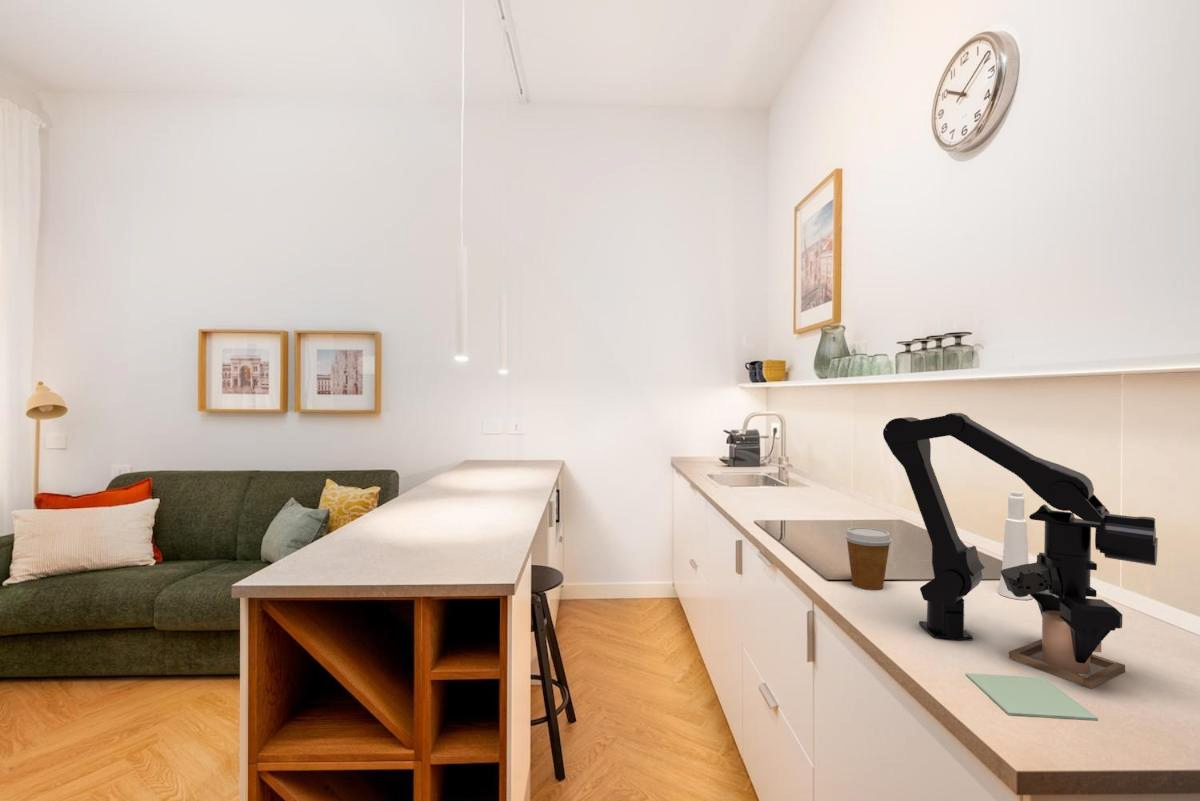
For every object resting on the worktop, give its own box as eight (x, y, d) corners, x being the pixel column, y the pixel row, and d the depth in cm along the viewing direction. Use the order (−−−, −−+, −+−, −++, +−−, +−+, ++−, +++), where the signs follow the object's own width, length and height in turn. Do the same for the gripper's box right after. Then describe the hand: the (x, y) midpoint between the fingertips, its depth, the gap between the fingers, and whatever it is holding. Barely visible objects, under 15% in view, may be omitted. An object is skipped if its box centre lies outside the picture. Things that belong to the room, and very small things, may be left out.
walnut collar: (1008, 658, 94) (1008, 652, 94) (1043, 644, 100) (1043, 638, 100) (1091, 688, 85) (1091, 681, 85) (1125, 671, 90) (1125, 664, 90)
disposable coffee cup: (877, 578, 135) (878, 526, 135) (900, 592, 125) (900, 536, 125) (836, 578, 135) (837, 526, 134) (856, 592, 125) (857, 537, 125)
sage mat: (965, 675, 89) (965, 673, 89) (1043, 679, 87) (1043, 677, 87) (1008, 715, 78) (1008, 712, 78) (1098, 720, 76) (1098, 718, 76)
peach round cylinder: (1052, 671, 90) (1052, 622, 90) (1035, 654, 96) (1035, 608, 96) (1109, 677, 88) (1110, 628, 88) (1088, 660, 94) (1089, 613, 94)
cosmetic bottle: (991, 592, 125) (992, 490, 125) (1009, 588, 128) (1010, 488, 127) (1021, 601, 120) (1022, 495, 119) (1039, 597, 122) (1040, 493, 122)
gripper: (987, 534, 103) (986, 621, 103) (1033, 563, 85) (1031, 670, 85) (1061, 538, 100) (1060, 629, 100) (1125, 570, 82) (1123, 680, 82)
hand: (1065, 650), depth 92 cm, fingers open, 9 cm apart
